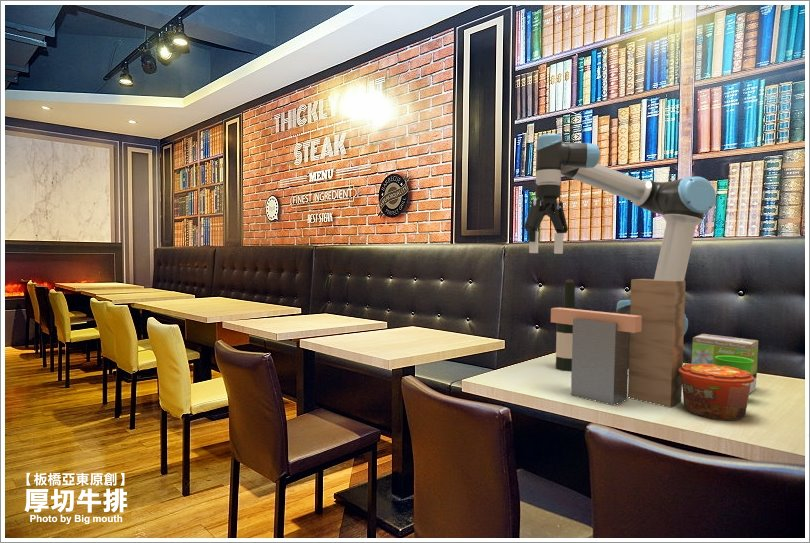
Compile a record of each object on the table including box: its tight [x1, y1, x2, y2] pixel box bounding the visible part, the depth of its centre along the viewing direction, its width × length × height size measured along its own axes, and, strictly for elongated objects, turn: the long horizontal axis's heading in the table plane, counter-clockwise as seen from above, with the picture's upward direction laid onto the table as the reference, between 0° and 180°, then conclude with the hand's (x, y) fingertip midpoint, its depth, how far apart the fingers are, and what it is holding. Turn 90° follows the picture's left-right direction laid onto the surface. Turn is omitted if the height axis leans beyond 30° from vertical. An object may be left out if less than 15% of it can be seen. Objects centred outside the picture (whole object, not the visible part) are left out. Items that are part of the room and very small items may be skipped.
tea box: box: [690, 333, 759, 394], centre depth 151 cm, size 15×10×15 cm, turn 45°
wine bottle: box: [555, 279, 576, 372], centre depth 172 cm, size 8×8×30 cm
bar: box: [550, 307, 642, 333], centre depth 139 cm, size 4×24×4 cm, turn 41°
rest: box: [570, 318, 629, 406], centre depth 137 cm, size 8×12×21 cm, turn 41°
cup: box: [715, 355, 754, 372], centre depth 139 cm, size 9×9×11 cm
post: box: [627, 278, 687, 408], centre depth 136 cm, size 7×11×32 cm, turn 41°
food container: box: [678, 363, 754, 421], centre depth 126 cm, size 16×16×11 cm
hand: (546, 253), depth 160 cm, fingers open, 13 cm apart
